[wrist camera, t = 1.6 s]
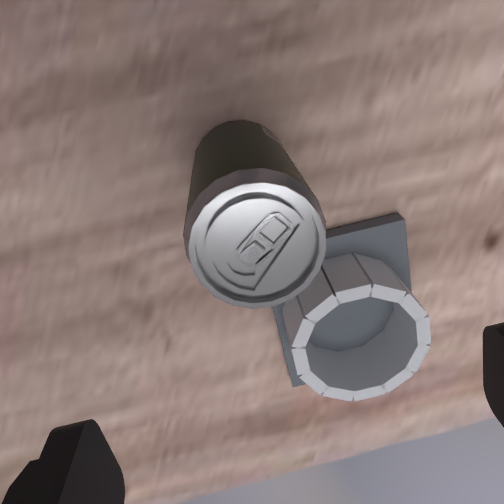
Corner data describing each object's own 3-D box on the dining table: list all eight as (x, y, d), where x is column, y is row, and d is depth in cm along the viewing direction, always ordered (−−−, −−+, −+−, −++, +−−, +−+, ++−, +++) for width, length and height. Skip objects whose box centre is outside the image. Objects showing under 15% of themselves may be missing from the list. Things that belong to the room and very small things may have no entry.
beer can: (233, 97, 25) (250, 141, 15) (302, 158, 27) (363, 238, 16) (175, 170, 27) (150, 260, 16) (244, 224, 29) (264, 337, 18)
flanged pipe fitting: (258, 246, 29) (266, 286, 25) (397, 212, 29) (433, 246, 24) (290, 375, 34) (302, 429, 29) (410, 347, 34) (442, 397, 29)
